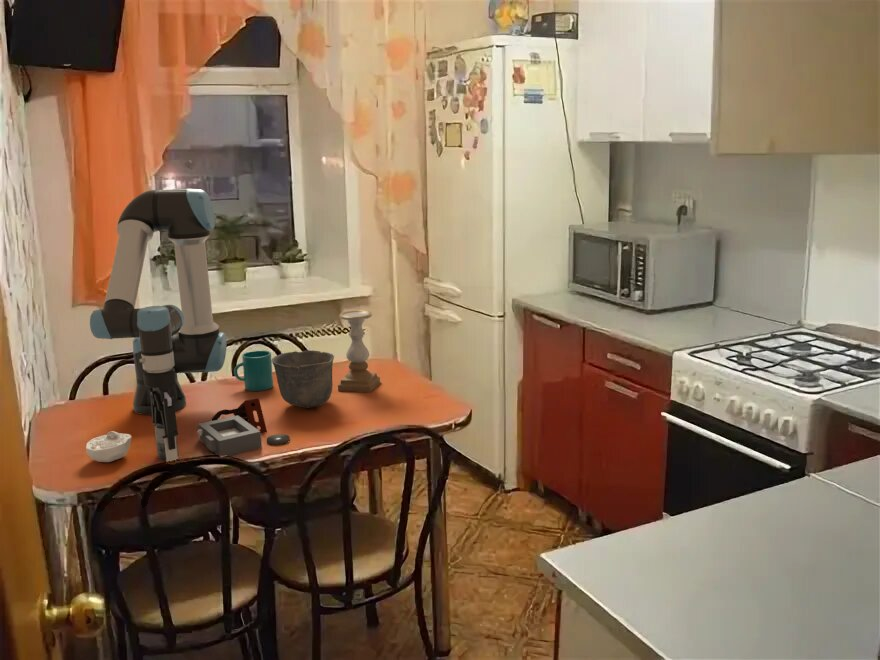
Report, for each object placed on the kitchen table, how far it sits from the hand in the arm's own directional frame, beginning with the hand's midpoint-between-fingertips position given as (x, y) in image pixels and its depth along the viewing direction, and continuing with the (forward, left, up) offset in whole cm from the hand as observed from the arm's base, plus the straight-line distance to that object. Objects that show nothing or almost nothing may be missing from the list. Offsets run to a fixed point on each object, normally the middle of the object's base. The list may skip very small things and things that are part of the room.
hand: (168, 456), depth 212 cm
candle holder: (-22, +68, 0) cm, 71 cm away
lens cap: (+7, +27, 0) cm, 28 cm away
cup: (-42, +40, 0) cm, 58 cm away
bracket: (-10, +23, -1) cm, 25 cm away
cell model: (-8, -12, -1) cm, 15 cm away
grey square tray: (+1, +16, 0) cm, 16 cm away
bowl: (-15, +46, 0) cm, 48 cm away
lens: (0, 0, 0) cm, 0 cm away
